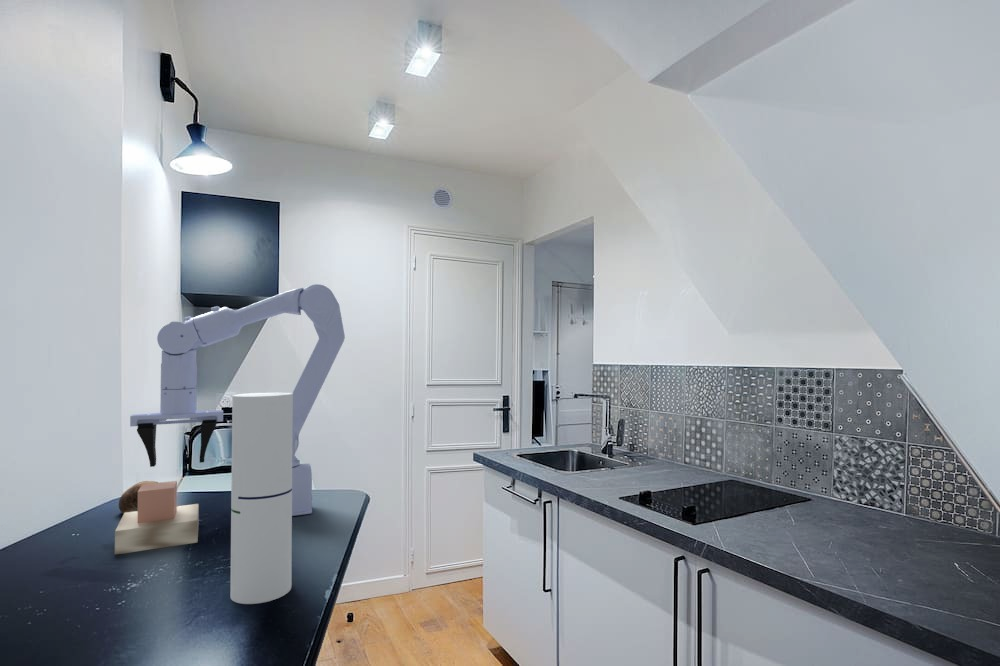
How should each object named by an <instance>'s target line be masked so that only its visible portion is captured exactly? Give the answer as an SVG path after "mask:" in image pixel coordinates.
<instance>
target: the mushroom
mask: <svg viewBox="0 0 1000 666" xmlns="http://www.w3.org/2000/svg"><path fill="white" fill-rule="evenodd" d="M150 483H159V482H158V481H155V480H142V481H139V482H137V483H135V484H133V485H132V486H130V487H129V488H128V489H126V490H125V491H124V492H123V493H122V494H121V496H120V498H119V500H118V509H119V511H120V513H121V514H123V515H124V513H126V512H134V511H138V490H139V489H140V487H141V486H142V484H150Z"/></svg>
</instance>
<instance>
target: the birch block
mask: <svg viewBox="0 0 1000 666" xmlns="http://www.w3.org/2000/svg"><path fill="white" fill-rule="evenodd" d="M199 505H200V504H199V503H193V504H186V505H185V504H183V505H177V511H176V514H175V517H174V519H167V520H159V521H151V522H143V523H138V510H135V511H133V512H126V513H124V514H123V515H122V517H121V519H120V521H119V522H118V524H117V527H116V528H115V531H114V555H120V554H121V555H122V554H128V553H129V554H130V553H134V552H135V553H136V552H142V551H148V550H154V549H161V548H170V547H177V546H182V545H188V544H195V543H198V540H199V539H198V537H199V518H200V517H199V516H200V515H199V508H200V506H199Z"/></svg>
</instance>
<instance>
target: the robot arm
mask: <svg viewBox="0 0 1000 666" xmlns="http://www.w3.org/2000/svg"><path fill="white" fill-rule="evenodd" d="M210 310H211V311H208V312H205V313H204V314H203V313H202V314H200V315H196V316H195V317H192V316H190V315H189V316H186V317H184V318H183V320H184V322H183V321H176V320H175V321H174V320H173V321H171V322H169V323H167V324H166V325H164V326H162V328H161V329H159V331H158V333H157V337H156V340H157V344H158V346H159V348H160V349H161V363H160V403H159V404H160V408H159V409H160V412H150V413H149V412H148V413H137V414H131V415H130V418H129V419H130V420H129V421H130V423H129V426H130V427H137V429H136V432H137V434H138V436H139V437H140V439H141V442H142V444H143V446H144V447H145V450H146V453H147V456H148V460H149V467H151V468H152V467H153V468H154V467H156V466H157V452H156V451H157V450H156V441H157V439H156V438H157V425H175V424H191V423H193V424H194V423H201V424H200V452H199V463H200V464H201V463H205V457H206V452H207V448H208V445H209V443H210V439H211V437H212V436H213V433H214V431H215V429H216V427H217V422H224V410H222V409H219V410H197V406H198V404H197V402H198V401H197V400H198V399H197V398H198V397H197V390H198V389H197V387H198V386H197V385H198V384H197V383H198V379H197V378H198V364H197V350H198V349H199V348H200V347H202V348H205V347H207V346H210V345H214V344H216V343H220V342H223V341H225V340H227V339H230V338H233V337H236V336H238V335H239V334H240V333H241V329H242V328H243V327H244V326H246V325H249V324H254V323H257V322H259V321H262V320H265V319H270V318H272V317H276V316H278V315H282V314H292V315H295V316H296V315H297V316H301V315H302V311H303V312H304V313H305V315H306V316H307V317H308V318H309V320H310V321H311V322H312V323H313V327H314V329H315V332H316V333H317V336H318V340H317V342H316V344H315V347H314V348H313V350H312V352H311V354H310V357H309V358H308V361H307V363H306V365H305V367H304V368H303V370H302V373H301V375H300V377H299V378H298V380H297V383H296V384H295V386H294V388H293V391H292V393H293V420H292V517H295V516H302V515H310V514H312V513H313V509H312V508H313V507H312V506H313V503H312V502H313V476H312V467H311V463H301V462H300V459H298V457H296V453H297V451H298V448H299V444H300V441H299V437H300V433H301V430H302V429H303V426H304V424H305V422H306V420H307V418H308V416H309V413H311V410H312V408H313V407H314V404H315V401H316V399H317V397H318V395H319V393H320V392H321V389H322V387H323V385H324V383H325V382H326V381H325V380H326V379H327V377H328V375H329V372H330V371H331V369H332V366H333V364H334V362H335V361H336V359H337V357H338V354H339V352H340V350H341V348H342V347H343V344H344V342H345V338H346V337H345V331H344V325H343V320H342V319H343V318H342V313H341V308H340V304H339V302H338V299H337V298H336V296H335V294H334V293H333V291H332V290H331V289H330V288H329V287H327V286H325V284H324V285H323V284H317V283H315V284H312V285H309V286H307V287H305V288H304V287H299V288H295V289H292V290H287V291H285V292H281V293H278V294H276V295H274V296H270V297H267V298H266V299H262V300H260V301H258V302H254V303H252V304H249V305H247V306H245V307H241V308H239V309H235V310H234V309H232V308H229V307H228V306H223V307H220V306H218V305H216V306H212V307H210Z"/></svg>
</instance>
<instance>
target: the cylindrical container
mask: <svg viewBox="0 0 1000 666" xmlns="http://www.w3.org/2000/svg"><path fill="white" fill-rule="evenodd" d="M231 403H232V406H231V408H232V409H231V411H232V412H231V413H232V414H231V416H232V417H231V418H232V419H231V483H230V484H231V487H230V488H231V492H230V493H231V494H230V497H231V499H230V502H231V503H230V507H231V508H230V509H231V510H230V512H231V513H230V590H229V591H230V594H229V595H230V600H231V601H232V602H234V603H237V604H242V605H254V604H255V605H256V604H262V603H267V602H271V601H273V600H276V599H279V598H281V597H283V596H286V594H287V595H288V593H289V592H290V591H291V590H292V578H293V577H292V574H293V573H292V571H293V570H292V567H293V566H292V563H293V562H292V557H293V556H292V553H293V551H292V547H293V544H292V543H293V542H292V541H293V540H292V539H293V538H292V536H293V535H292V533H293V530H292V529H293V522H292V521H293V520H292V519H293V516H292V420H293V392H283V391H282V392H281V391H277V392H274V391H273V392H249V393H248V392H247V393H238V394H232V402H231Z"/></svg>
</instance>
